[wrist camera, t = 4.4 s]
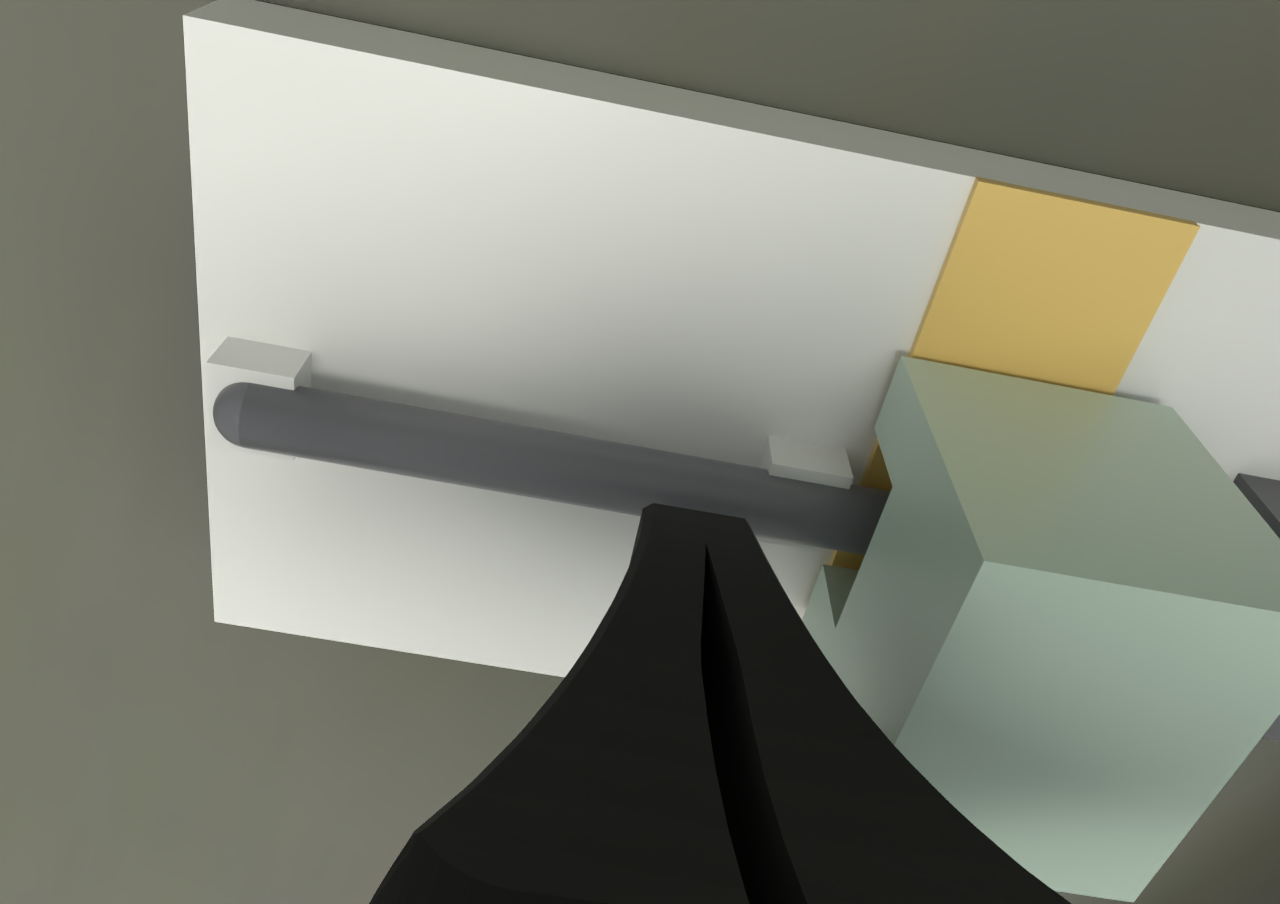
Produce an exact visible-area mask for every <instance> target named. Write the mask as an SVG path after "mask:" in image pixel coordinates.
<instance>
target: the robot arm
mask: <svg viewBox="0 0 1280 904" xmlns="http://www.w3.org/2000/svg"><path fill="white" fill-rule="evenodd" d="M369 904H1071V903H1070V902H1068V901H1067V900H1066V899H1064V898H1063V897H1062V896H1060V895H1059V894H1058V893H1056V892H1055V891H1054V890H1052V889H1051V888H1050V887H1048V886H1047V885H1046V884H1044V883H1043V882H1042V881H1040V880H1039V879H1038V878H1037V877H1035V876H1034V875H1033V874H1031V873H1030V872H1029V871H1027V870H1026V869H1025V868H1024V867H1022V866H1021V865H1020V864H1019V863H1017V862H1016V861H1015V860H1014V859H1013V858H1012V857H1010V856H1009V855H1008V854H1007V853H1006V852H1005V851H1003V850H1002V849H1001V848H1000V847H999V846H998V845H996V844H995V843H994V842H993V841H992V840H991V839H989V838H988V837H987V836H986V835H985V834H984V833H983V832H981V831H980V830H979V829H978V828H977V827H976V826H974V825H973V824H972V823H971V822H970V821H969V820H968V819H967V818H966V817H965V816H964V815H963V814H962V813H960V812H959V811H958V810H957V809H956V808H955V807H954V806H953V805H952V804H951V803H950V802H949V801H948V800H947V799H946V798H945V797H944V796H943V795H942V794H941V793H940V792H939V791H938V790H937V789H936V788H935V787H934V786H933V785H932V784H931V783H930V782H929V781H928V780H927V779H926V778H925V777H924V776H923V775H922V774H921V773H920V772H919V771H918V770H917V769H916V768H915V767H914V766H913V765H912V764H911V763H910V762H909V761H908V760H907V759H906V758H905V756H904V755H903V754H902V753H901V752H900V751H899V750H898V749H897V748H896V747H895V746H894V744H893V743H892V742H891V741H890V740H889V739H888V738H887V736H886V735H885V734H884V733H883V732H882V730H881V729H880V728H879V727H878V726H877V724H876V723H875V722H874V721H873V720H872V719H871V717H870V716H869V715H868V714H867V713H866V711H865V710H864V709H863V708H862V707H861V705H860V704H859V703H858V702H857V700H856V699H855V698H854V696H853V695H852V694H851V692H850V691H849V690H848V688H847V687H846V686H845V684H844V683H843V681H842V680H841V679H840V677H839V676H838V674H837V673H836V671H835V670H834V669H833V667H832V666H831V664H830V663H829V661H828V660H827V659H826V657H825V656H824V654H823V653H822V651H821V649H820V648H819V646H818V645H817V643H816V642H815V640H814V639H813V637H812V636H811V634H810V632H809V631H808V629H807V627H806V626H805V624H804V623H803V621H802V619H801V618H800V616H799V614H798V613H797V611H796V610H795V608H794V606H793V605H792V603H791V601H790V599H789V598H788V596H787V594H786V592H785V591H784V589H783V587H782V585H781V584H780V582H779V580H778V578H777V576H776V574H775V573H774V571H773V569H772V567H771V565H770V563H769V562H768V560H767V558H766V556H765V554H764V552H763V550H762V548H761V546H760V544H759V542H758V540H757V538H756V536H755V535H754V533H753V531H752V529H751V527H750V525H749V524H748V522H747V521H746V519H745V518H740V517H734V516H728V515H722V514H716V513H710V512H704V511H698V510H692V509H687V508H681V507H675V506H669V505H663V504H657V503H652V504H650V505H648V506H646V507H645V508H643V509H642V514H641V518H640V522H639V526H638V531H637V535H636V539H635V543H634V548H633V552H632V556H631V560H630V564H629V568H628V570H627V572H626V574H625V576H624V579H623V581H622V583H621V585H620V587H619V589H618V592H617V594H616V596H615V598H614V600H613V602H612V604H611V605H610V607H609V609H608V611H607V612H606V614H605V616H604V618H603V619H602V621H601V623H600V624H599V626H598V628H597V630H596V631H595V633H594V635H593V636H592V638H591V640H590V641H589V643H588V645H587V646H586V648H585V649H584V651H583V652H582V654H581V655H580V657H579V658H578V660H577V661H576V663H575V664H574V665H573V667H572V668H571V670H570V671H569V672H568V674H567V675H566V677H565V678H564V679H563V681H562V682H561V683H560V685H559V686H558V687H557V689H556V690H555V691H554V693H553V694H552V695H551V696H550V698H549V699H548V700H547V701H546V702H545V704H544V705H543V706H542V707H541V709H540V710H539V711H538V712H537V714H536V715H535V716H534V717H533V718H532V720H531V721H530V722H529V723H528V724H527V725H526V727H525V728H524V729H523V730H522V731H521V732H520V733H519V734H518V736H517V737H516V738H515V739H514V740H513V741H512V742H511V743H510V744H509V745H508V746H507V747H506V748H505V749H504V750H503V751H502V752H501V753H500V754H499V755H498V756H497V757H496V758H495V759H494V760H493V761H492V762H491V763H490V764H489V765H488V766H487V767H486V768H485V769H484V770H483V771H482V772H481V773H480V774H479V775H478V776H477V777H476V778H475V779H474V780H473V781H472V782H471V783H470V784H469V785H468V786H467V787H466V788H465V789H464V790H462V791H461V792H460V793H459V794H458V795H456V796H455V797H454V798H453V799H452V800H451V801H449V802H448V803H447V804H446V805H445V806H444V807H442V808H441V809H440V810H439V811H438V812H436V813H435V814H434V815H433V816H432V817H431V818H429V819H428V820H427V821H426V822H425V823H423V824H422V825H421V826H420V827H419V828H418V829H416V830H415V831H414V832H413V834H412V836H411V838H410V839H409V841H408V842H407V844H406V845H405V847H404V848H403V850H402V851H401V853H400V854H399V856H398V857H397V859H396V860H395V862H394V863H393V865H392V867H391V868H390V870H389V871H388V873H387V875H386V876H385V878H384V879H383V881H382V883H381V884H380V886H379V888H378V889H377V891H376V893H375V894H374V896H373V898H372V900H371V902H370V903H369Z"/></svg>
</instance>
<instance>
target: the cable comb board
mask: <svg viewBox="0 0 1280 904" xmlns="http://www.w3.org/2000/svg"><path fill="white" fill-rule="evenodd" d="M183 27H184V46H185V65H186V84H187V103H188V122H189V141H190V160H191V179H192V198H193V218H194V237H195V256H196V275H197V294H198V313H199V332H200V351H201V370H202V389H203V408H204V428H205V447H206V466H207V485H208V504H209V523H210V542H211V561H212V580H213V599H214V619H215V622H220V623H227V624H233V625H239V626H245V627H252V628H258V629H264V630H271V631H277V632H283V633H289V634H296V635H302V636H308V637H314V638H321V639H327V640H333V641H340V642H346V643H352V644H358V645H365V646H371V647H377V648H384V649H390V650H396V651H402V652H409V653H415V654H421V655H427V656H434V657H440V658H446V659H453V660H459V661H465V662H471V663H478V664H484V665H490V666H497V667H503V668H509V669H515V670H522V671H528V672H534V673H540V674H547V675H553V676H559V677H566V675H567V674H568V672H569V671H570V670H571V668H572V667H573V665H574V664H575V663H576V661H577V660H578V658H579V657H580V655H581V654H582V652H583V651H584V649H585V648H586V646H587V645H588V643H589V641H590V640H591V638H592V636H593V635H594V633H595V631H596V630H597V628H598V626H599V624H600V623H601V621H602V619H603V618H604V616H605V614H606V612H607V611H608V609H609V607H610V605H611V604H612V602H613V600H614V598H615V596H616V594H617V592H618V589H619V587H620V585H621V583H622V581H623V579H624V576H625V574H626V572H627V570H628V568H629V564H630V560H631V556H632V552H633V548H634V543H635V539H636V535H637V531H638V526H639V522H640V518H641V514H642V509H643V508H645V507H646V506H648V505H650V504H652V503H657V504H663V505H669V506H675V507H681V508H687V509H692V510H698V511H704V512H710V513H716V514H722V515H728V516H734V517H740V518H745V519H746V521H747V522H748V524H749V525H750V527H751V529H752V531H753V533H754V535H755V536H756V538H757V540H758V542H759V544H760V546H761V548H762V550H763V552H764V554H765V556H766V558H767V560H768V562H769V563H770V565H771V567H772V569H773V571H774V573H775V574H776V576H777V578H778V580H779V582H780V584H781V585H782V587H783V589H784V591H785V592H786V594H787V596H788V598H789V599H790V601H791V603H792V605H793V606H794V608H795V610H796V611H797V613H798V614H799V616H800V618H801V619H802V618H803V615H804V613H805V610H806V607H807V605H808V602H809V599H810V597H811V594H812V591H813V589H814V586H815V583H816V581H817V578H818V575H819V573H820V570H821V567H822V565H823V564H826V565H831V566H837V567H843V568H849V569H855V570H859V569H860V566H861V564H862V561H863V559H864V556H865V554H866V552H867V549H868V547H869V544H870V542H871V539H872V537H873V534H874V532H875V529H876V527H877V524H878V522H879V519H880V517H881V514H882V512H883V509H884V507H885V504H886V502H887V499H888V497H889V494H890V492H891V489H892V487H893V486H892V483H891V480H890V477H889V474H888V471H887V467H886V464H885V461H884V458H883V455H882V452H881V448H880V445H879V442H878V439H877V436H876V432H875V429H874V426H875V424H876V421H877V418H878V416H879V413H880V410H881V408H882V405H883V402H884V400H885V397H886V395H887V392H888V389H889V387H890V384H891V381H892V379H893V376H894V373H895V371H896V368H897V365H898V363H899V360H900V357H901V356H906V357H911V358H916V359H921V360H927V361H932V362H937V363H942V364H948V365H953V366H958V367H964V368H969V369H974V370H979V371H985V372H990V373H995V374H1001V375H1006V376H1011V377H1016V378H1022V379H1027V380H1032V381H1038V382H1043V383H1048V384H1053V385H1059V386H1064V387H1069V388H1075V389H1080V390H1085V391H1090V392H1096V393H1101V394H1106V395H1112V396H1117V397H1122V398H1127V399H1133V400H1138V401H1143V402H1148V403H1154V404H1159V405H1164V406H1170V407H1172V408H1173V409H1174V410H1175V411H1176V413H1177V414H1178V415H1179V416H1180V417H1181V419H1182V420H1183V421H1184V422H1185V424H1186V425H1187V426H1188V427H1189V428H1190V430H1191V431H1192V432H1193V433H1194V435H1195V436H1196V437H1197V438H1198V439H1199V441H1200V442H1201V443H1202V444H1203V446H1204V447H1205V448H1206V449H1207V450H1208V452H1209V453H1210V454H1211V455H1212V457H1213V458H1214V459H1215V460H1216V462H1217V463H1218V464H1219V465H1220V466H1221V468H1222V469H1223V470H1224V471H1225V473H1226V474H1227V475H1228V476H1229V477H1230V479H1231V480H1232V481H1233V482H1234V484H1235V485H1236V486H1237V487H1238V488H1239V490H1240V491H1241V492H1242V493H1243V495H1244V496H1245V497H1246V498H1247V499H1248V501H1249V502H1250V503H1251V504H1252V506H1253V507H1254V508H1255V509H1256V511H1257V512H1258V513H1259V514H1260V515H1261V517H1262V518H1263V519H1264V520H1265V522H1266V523H1267V524H1268V525H1269V526H1270V528H1271V529H1272V530H1273V531H1274V533H1275V534H1276V535H1277V536H1278V537H1279V539H1280V212H1275V211H1270V210H1266V209H1261V208H1256V207H1251V206H1246V205H1241V204H1237V203H1232V202H1227V201H1222V200H1217V199H1212V198H1208V197H1203V196H1198V195H1193V194H1188V193H1183V192H1179V191H1174V190H1169V189H1164V188H1159V187H1154V186H1150V185H1145V184H1140V183H1135V182H1130V181H1125V180H1121V179H1116V178H1111V177H1106V176H1101V175H1097V174H1092V173H1087V172H1082V171H1077V170H1072V169H1068V168H1063V167H1058V166H1053V165H1048V164H1043V163H1039V162H1034V161H1029V160H1024V159H1019V158H1014V157H1010V156H1005V155H1000V154H995V153H990V152H985V151H981V150H976V149H971V148H966V147H961V146H956V145H952V144H947V143H942V142H937V141H932V140H927V139H923V138H918V137H913V136H908V135H903V134H898V133H894V132H889V131H884V130H879V129H874V128H870V127H865V126H860V125H855V124H850V123H845V122H841V121H836V120H831V119H826V118H821V117H816V116H812V115H807V114H802V113H797V112H792V111H787V110H783V109H778V108H773V107H768V106H763V105H758V104H754V103H749V102H744V101H739V100H734V99H729V98H725V97H720V96H715V95H710V94H705V93H700V92H696V91H691V90H686V89H681V88H676V87H672V86H667V85H662V84H657V83H652V82H647V81H643V80H638V79H633V78H628V77H623V76H618V75H614V74H609V73H604V72H599V71H594V70H589V69H585V68H580V67H575V66H570V65H565V64H560V63H556V62H551V61H546V60H541V59H536V58H531V57H527V56H522V55H517V54H512V53H507V52H502V51H498V50H493V49H488V48H483V47H478V46H473V45H469V44H464V43H459V42H454V41H449V40H445V39H440V38H435V37H430V36H425V35H420V34H416V33H411V32H406V31H401V30H396V29H391V28H387V27H382V26H377V25H372V24H367V23H362V22H358V21H353V20H348V19H343V18H338V17H333V16H329V15H324V14H319V13H314V12H309V11H304V10H300V9H295V8H290V7H285V6H280V5H275V4H271V3H266V2H261V1H256V0H216V1H214V2H212V3H210V4H207V5H205V6H203V7H200V8H198V9H196V10H194V11H191V12H189V13H187V14H184V15H183ZM1262 738H1266V739H1273V740H1279V741H1280V714H1279V716H1278V717H1277V718H1276V720H1275V721H1274V722H1273V723H1272V725H1271V726H1270V727H1269V729H1268V730H1267V731H1266V732H1265V734H1264V735H1263V736H1262Z"/></svg>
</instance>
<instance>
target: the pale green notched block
mask: <svg viewBox="0 0 1280 904" xmlns="http://www.w3.org/2000/svg"><path fill="white" fill-rule="evenodd" d="M874 429H875V432H876V436H877V439H878V442H879V445H880V448H881V452H882V455H883V458H884V461H885V464H886V467H887V471H888V474H889V477H890V480H891V483H892V486H893V487H892V489H891V492H890V494H889V497H888V499H887V502H886V504H885V507H884V509H883V512H882V514H881V517H880V519H879V522H878V524H877V527H876V529H875V532H874V534H873V537H872V539H871V542H870V544H869V547H868V549H867V552H866V554H865V556H864V559H863V561H862V564H861V566H860V569H859V570H855V569H849V568H843V567H837V566H831V565H826V564H823V565H822V567H821V570H820V573H819V575H818V578H817V581H816V583H815V586H814V589H813V591H812V594H811V597H810V599H809V602H808V605H807V607H806V610H805V613H804V615H803V618H802V621H803V623H804V624H805V626H806V627H807V629H808V631H809V632H810V634H811V636H812V637H813V639H814V640H815V642H816V643H817V645H818V646H819V648H820V649H821V651H822V653H823V654H824V656H825V657H826V659H827V660H828V661H829V663H830V664H831V666H832V667H833V669H834V670H835V671H836V673H837V674H838V676H839V677H840V679H841V680H842V681H843V683H844V684H845V686H846V687H847V688H848V690H849V691H850V692H851V694H852V695H853V696H854V698H855V699H856V700H857V702H858V703H859V704H860V705H861V707H862V708H863V709H864V710H865V711H866V713H867V714H868V715H869V716H870V717H871V719H872V720H873V721H874V722H875V723H876V724H877V726H878V727H879V728H880V729H881V730H882V732H883V733H884V734H885V735H886V736H887V738H888V739H889V740H890V741H891V742H892V743H893V744H894V746H895V747H896V748H897V749H898V750H899V751H900V752H901V753H902V754H903V755H904V756H905V758H906V759H907V760H908V761H909V762H910V763H911V764H912V765H913V766H914V767H915V768H916V769H917V770H918V771H919V772H920V773H921V774H922V775H923V776H924V777H925V778H926V779H927V780H928V781H929V782H930V783H931V784H932V785H933V786H934V787H935V788H936V789H937V790H938V791H939V792H940V793H941V794H942V795H943V796H944V797H945V798H946V799H947V800H948V801H949V802H950V803H951V804H952V805H953V806H954V807H955V808H956V809H957V810H958V811H959V812H960V813H962V814H963V815H964V816H965V817H966V818H967V819H968V820H969V821H970V822H971V823H972V824H973V825H974V826H976V827H977V828H978V829H979V830H980V831H981V832H983V833H984V834H985V835H986V836H987V837H988V838H989V839H991V840H992V841H993V842H994V843H995V844H996V845H998V846H999V847H1000V848H1001V849H1002V850H1003V851H1005V852H1006V853H1007V854H1008V855H1009V856H1010V857H1012V858H1013V859H1014V860H1015V861H1016V862H1017V863H1019V864H1020V865H1021V866H1022V867H1024V868H1025V869H1026V870H1027V871H1029V872H1030V873H1031V874H1033V875H1034V876H1035V877H1037V878H1038V879H1039V880H1040V881H1042V882H1043V883H1044V884H1046V885H1047V886H1048V887H1050V888H1051V889H1052V890H1054V891H1060V892H1066V893H1073V894H1080V895H1087V896H1093V897H1100V898H1107V899H1114V900H1120V901H1127V902H1134V901H1135V900H1136V898H1137V897H1138V896H1139V895H1140V893H1141V892H1142V891H1143V889H1144V888H1145V887H1146V886H1147V884H1148V883H1149V882H1150V880H1151V879H1152V878H1153V877H1154V875H1155V874H1156V873H1157V871H1158V870H1159V869H1160V868H1161V866H1162V865H1163V864H1164V862H1165V861H1166V860H1167V859H1168V857H1169V856H1170V855H1171V853H1172V852H1173V851H1174V850H1175V848H1176V847H1177V846H1178V844H1179V843H1180V842H1181V841H1182V839H1183V838H1184V837H1185V835H1186V834H1187V833H1188V832H1189V830H1190V829H1191V828H1192V826H1193V825H1194V824H1195V823H1196V821H1197V820H1198V819H1199V817H1200V816H1201V815H1202V814H1203V812H1204V811H1205V810H1206V808H1207V807H1208V806H1209V805H1210V803H1211V802H1212V801H1213V799H1214V798H1215V797H1216V796H1217V794H1218V793H1219V792H1220V790H1221V789H1222V788H1223V787H1224V785H1225V784H1226V783H1227V781H1228V780H1229V779H1230V778H1231V776H1232V775H1233V774H1234V772H1235V771H1236V770H1237V769H1238V767H1239V766H1240V765H1241V763H1242V762H1243V761H1244V760H1245V758H1246V757H1247V756H1248V754H1249V753H1250V752H1251V751H1252V749H1253V748H1254V747H1255V745H1256V744H1257V743H1258V741H1259V740H1260V739H1261V738H1262V736H1263V735H1264V734H1265V732H1266V731H1267V730H1268V729H1269V727H1270V726H1271V725H1272V723H1273V722H1274V721H1275V720H1276V718H1277V717H1278V716H1279V714H1280V539H1279V537H1278V536H1277V535H1276V534H1275V533H1274V531H1273V530H1272V529H1271V528H1270V526H1269V525H1268V524H1267V523H1266V522H1265V520H1264V519H1263V518H1262V517H1261V515H1260V514H1259V513H1258V512H1257V511H1256V509H1255V508H1254V507H1253V506H1252V504H1251V503H1250V502H1249V501H1248V499H1247V498H1246V497H1245V496H1244V495H1243V493H1242V492H1241V491H1240V490H1239V488H1238V487H1237V486H1236V485H1235V484H1234V482H1233V481H1232V480H1231V479H1230V477H1229V476H1228V475H1227V474H1226V473H1225V471H1224V470H1223V469H1222V468H1221V466H1220V465H1219V464H1218V463H1217V462H1216V460H1215V459H1214V458H1213V457H1212V455H1211V454H1210V453H1209V452H1208V450H1207V449H1206V448H1205V447H1204V446H1203V444H1202V443H1201V442H1200V441H1199V439H1198V438H1197V437H1196V436H1195V435H1194V433H1193V432H1192V431H1191V430H1190V428H1189V427H1188V426H1187V425H1186V424H1185V422H1184V421H1183V420H1182V419H1181V417H1180V416H1179V415H1178V414H1177V413H1176V411H1175V410H1174V409H1173V408H1172V407H1170V406H1164V405H1159V404H1154V403H1148V402H1143V401H1138V400H1133V399H1127V398H1122V397H1117V396H1112V395H1106V394H1101V393H1096V392H1090V391H1085V390H1080V389H1075V388H1069V387H1064V386H1059V385H1053V384H1048V383H1043V382H1038V381H1032V380H1027V379H1022V378H1016V377H1011V376H1006V375H1001V374H995V373H990V372H985V371H979V370H974V369H969V368H964V367H958V366H953V365H948V364H942V363H937V362H932V361H927V360H921V359H916V358H911V357H906V356H901V357H900V360H899V363H898V365H897V368H896V371H895V373H894V376H893V379H892V381H891V384H890V387H889V389H888V392H887V395H886V397H885V400H884V402H883V405H882V408H881V410H880V413H879V416H878V418H877V421H876V424H875V426H874Z"/></svg>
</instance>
